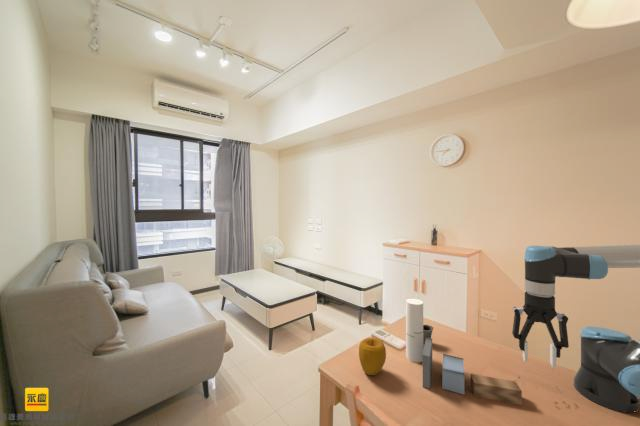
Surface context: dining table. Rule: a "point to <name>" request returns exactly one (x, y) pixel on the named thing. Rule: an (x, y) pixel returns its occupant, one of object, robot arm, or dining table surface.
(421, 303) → the cylindrical container
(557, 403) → the dining table surface
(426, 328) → the pipe
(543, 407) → the dining table surface
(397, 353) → the dining table surface
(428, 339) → the wall
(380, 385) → the dining table surface
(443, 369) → the block
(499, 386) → the wooden slab
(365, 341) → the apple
